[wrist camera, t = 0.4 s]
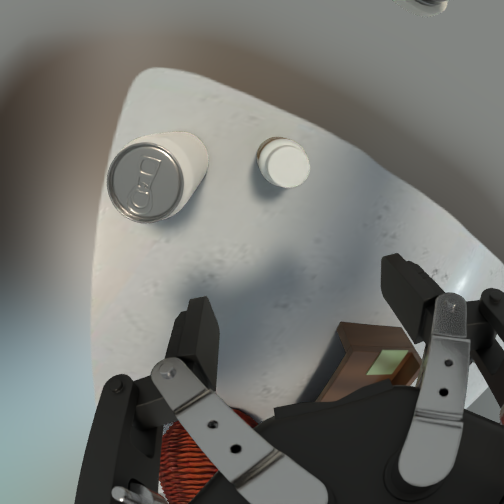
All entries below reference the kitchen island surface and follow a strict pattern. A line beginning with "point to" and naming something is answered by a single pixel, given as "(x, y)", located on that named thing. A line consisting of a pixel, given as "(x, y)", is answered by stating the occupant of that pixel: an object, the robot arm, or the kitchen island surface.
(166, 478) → the vase
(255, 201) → the kitchen island surface
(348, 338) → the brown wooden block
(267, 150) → the pill bottle
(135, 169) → the can
